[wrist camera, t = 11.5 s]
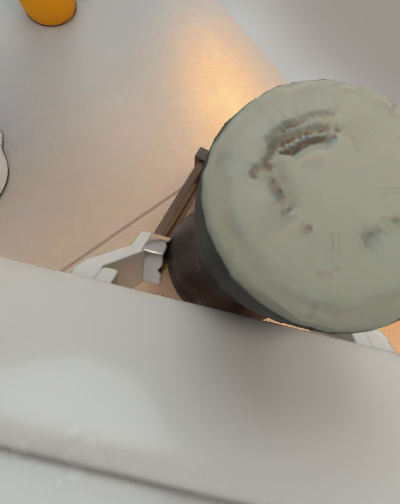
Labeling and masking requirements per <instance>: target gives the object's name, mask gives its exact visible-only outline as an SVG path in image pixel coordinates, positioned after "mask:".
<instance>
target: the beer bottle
mask: <svg viewBox="0 0 400 504" xmlns="http://www.w3.org/2000/svg"><path fill="white" fill-rule="evenodd" d="M19 1H20V3H21V5H22V6H23V8H24V9H25V11H26V12H27V13H28V15H29V16H30V17H31V18H32V19H33V20H34V21H36V22H38V23H40V24H43V25H48V26H54V25H59V24H62V23H65V22H66V21H68V20H69V19H70V18H71V17H72V16H73V14H74V12H75V0H19Z"/></svg>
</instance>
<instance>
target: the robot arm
mask: <svg viewBox="0 0 400 504" xmlns="http://www.w3.org/2000/svg"><path fill="white" fill-rule="evenodd" d="M2 140H3V136H2V133H1V131H0V193H1V192H2V190H3V188H4V186H5V183H6V180H7V175H8V166H7V161H6V158H5V156H4V153H3V150H2ZM171 239H172V238H169V237H165V236H162V235H158V234H154V233H151V232H146V231H141V232H140V234H139V235H138V237H137V238H136V239H135V241H134V242H133V243H132V245H131V246H125V247H122V248H119V249H116V250H113V251H110V252H107V253H104V254H101V255H98V256H94V257H91V258H88V259H85V260H82V261H81V262H80V263H79V264H78V265H77V266H76V267H75V268H74V269H73V270H72V271H71V272H70V273H66V272H62V271H58V270H53V269H49V268H45V267H41V266H37V265H33V264H29V263H25V262H21V261H16V260H12V259H8V258H4V257H0V504H400V354H399V353H396V351H395V350H394V348H393V347H392V345H391V344H390V342H389V340H388V339H387V337H386V336H385V334H383V333H382V332H381V331H380V330H378V329H376V330H373V331H368V332H361V333H354V334H346V333H341V334H334V335H332V334H327V333H321V332H317V331H313V330H309V331H310V332H309V331H304V330H300V329H296V328H292V327H288V326H284V325H280V324H276V323H272V322H267V321H263V320H259V319H255V318H251V317H247V316H243V315H239V314H234V313H230V312H226V311H222V310H218V309H214V308H210V307H206V306H202V305H197V304H193V303H189V302H185V301H181V300H177V299H173V298H169V297H165V296H160V295H156V294H152V293H148V292H144V291H140V290H136V289H132V288H133V287H135V286H136V285H138V284H140V283H141V282H142V281H144V282H149V283H153V284H158V285H159V284H160V282H161V280H162V277H163V273H164V271H165V270H166V268H167V264H168V251H169V247H170V243H171Z"/></svg>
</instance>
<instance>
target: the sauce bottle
mask: <svg viewBox="0 0 400 504" xmlns="http://www.w3.org/2000/svg"><path fill="white" fill-rule="evenodd" d="M168 269H169V274H170V278H171V280H172V283H173V285H174V287H175V289H176V291H177V293H178V294H179V296H180V297H181V299H182V300H183V301H185V302H189V303H193V304H197V305H202V306H206V307H210V308H214V309H218V310H222V311H226V312H230V313H234V314H239V315H243V316H247V317H251V318H255V319H259V320H264V319H266V318H270V319H273V320H275V321H277V322H280V323H285V324H289V325H293V326H296V327H300V328H304V329H309V330H313V331H317V332H321V333H327V334H332V335H334V334H341V333H346V334H354V333H361V332H368V331H373V330H376V329H379V328H381V327H384V326H387V325H390V324H392V323H394V322H396V321H399V320H400V107H399V106H398V105H396V104H395V103H394V102H393V101H391V100H390V99H389V98H387V97H384V96H382V95H381V94H379V93H377V92H375V91H372V90H369V89H366V88H364V87H361V86H357V85H352V84H348V83H344V82H339V81H333V80H327V79H320V80H309V81H300V82H292V83H290V84H287V85H279V86H276V87H274V88H272V89H271V90H269V91H267V92H265V93H263V94H262V95H261V96H259V97H258V98H256V99H254V100H253V101H251V102H249V103H248V104H247V105H245V106H244V107H243V108H242V109H241V110H240V111H239V112H238V113H236V114H235V115H234V116H233V117H232V118H231V119H229V120H228V121H227V122H226V123H225V124H224V126H223V127H222V129H221V130H220V132H219V133H218V135H217V136H216V137H215V139H214V141H213V143H212V146H211V148H210V150H209V152H208V154H207V156H206V159H205V161H204V163H203V166H202V171H201V176H200V181H199V185H198V189H197V192H196V202H195V211H194V212H193V213H191V214H190V215H188V216H187V217H186V218H185V219H184V220H183V221H182V222H181V223H180V224H179V226H178V227H177V228H176V230H175V232H174V234H173V236H172V239H171V243H170V247H169V251H168Z"/></svg>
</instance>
